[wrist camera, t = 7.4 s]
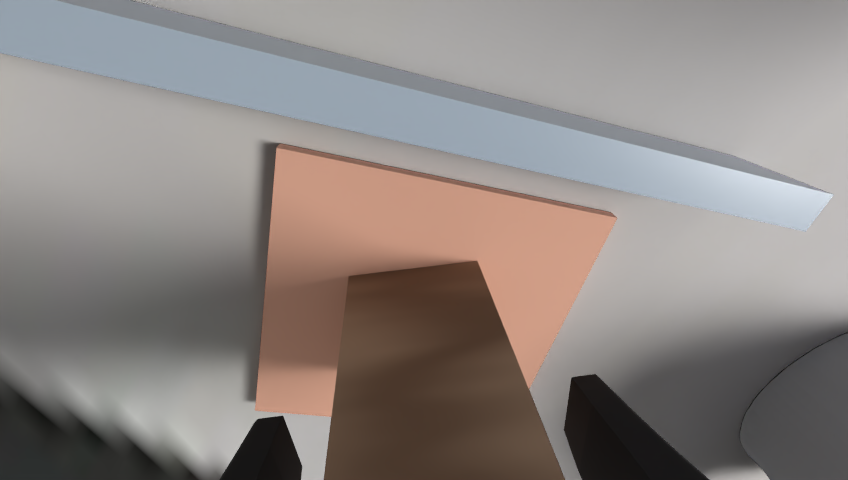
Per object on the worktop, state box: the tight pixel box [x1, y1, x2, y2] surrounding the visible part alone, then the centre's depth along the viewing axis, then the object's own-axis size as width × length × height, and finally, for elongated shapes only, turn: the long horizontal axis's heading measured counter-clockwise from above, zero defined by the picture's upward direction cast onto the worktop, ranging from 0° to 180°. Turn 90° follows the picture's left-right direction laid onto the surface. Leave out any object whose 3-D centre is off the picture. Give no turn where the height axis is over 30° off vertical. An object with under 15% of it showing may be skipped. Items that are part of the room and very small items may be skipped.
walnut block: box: [324, 261, 565, 480], centre depth 10 cm, size 4×4×7 cm
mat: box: [255, 144, 617, 417], centre depth 14 cm, size 10×10×1 cm
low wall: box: [0, 0, 833, 232], centre depth 9 cm, size 18×1×3 cm, turn 76°
